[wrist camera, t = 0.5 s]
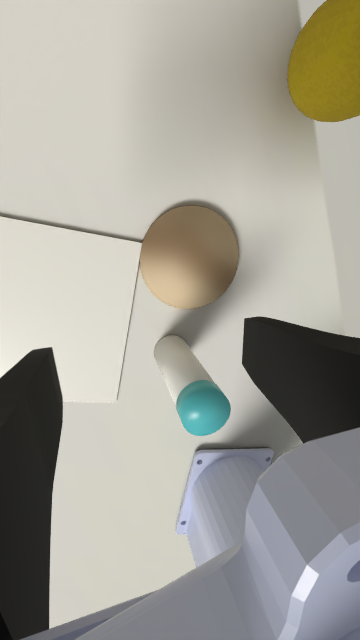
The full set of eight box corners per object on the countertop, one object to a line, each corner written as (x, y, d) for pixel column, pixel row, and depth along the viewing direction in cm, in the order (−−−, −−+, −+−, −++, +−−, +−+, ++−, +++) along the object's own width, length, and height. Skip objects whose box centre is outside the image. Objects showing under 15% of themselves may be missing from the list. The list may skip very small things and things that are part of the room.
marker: (183, 368, 24) (223, 435, 17) (150, 365, 24) (177, 436, 16) (190, 336, 24) (235, 392, 16) (156, 332, 23) (188, 390, 16)
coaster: (223, 312, 24) (225, 314, 23) (132, 301, 22) (132, 302, 21) (247, 218, 22) (249, 218, 21) (149, 194, 20) (150, 194, 19)
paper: (115, 401, 24) (116, 403, 24) (-20, 398, 21) (-21, 399, 21) (141, 242, 20) (141, 243, 20) (-15, 213, 18) (-16, 213, 17)
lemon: (299, 6, 18) (436, -125, 11) (353, 78, 21) (497, 6, 13) (246, 93, 19) (341, 23, 12) (303, 153, 21) (414, 124, 14)
